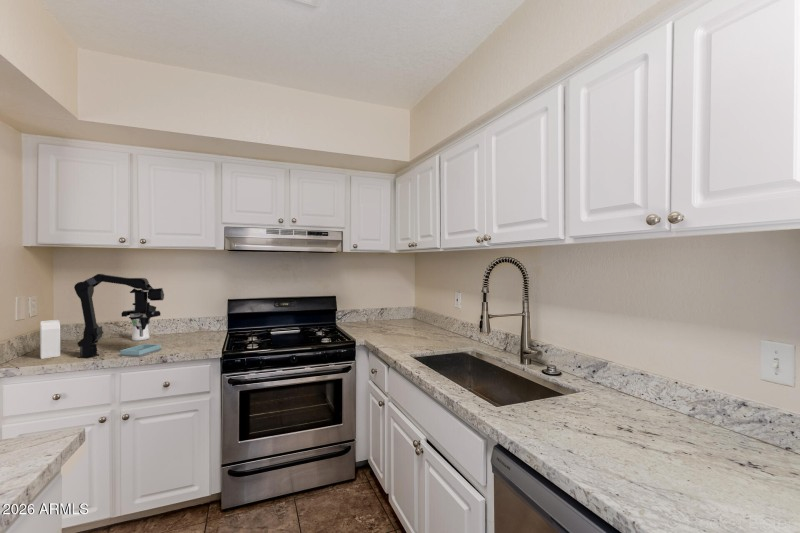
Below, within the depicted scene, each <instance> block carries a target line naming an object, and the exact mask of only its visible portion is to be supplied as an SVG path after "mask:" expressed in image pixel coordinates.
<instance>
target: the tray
mask: <svg viewBox="0 0 800 533" xmlns="http://www.w3.org/2000/svg"><path fill="white" fill-rule="evenodd" d="M160 350H161V351H162V344H157V343H155V344H151V343H143V344H139V345H135V346H132V347H128V348H125V349H120V350H119V357H122V356H131V357H130V358H140V357H144V356H143V355H145V356H147V355H146V354H148V355H150V354H149V353H151V354H153V352H154V353H156V352H160Z"/></svg>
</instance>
